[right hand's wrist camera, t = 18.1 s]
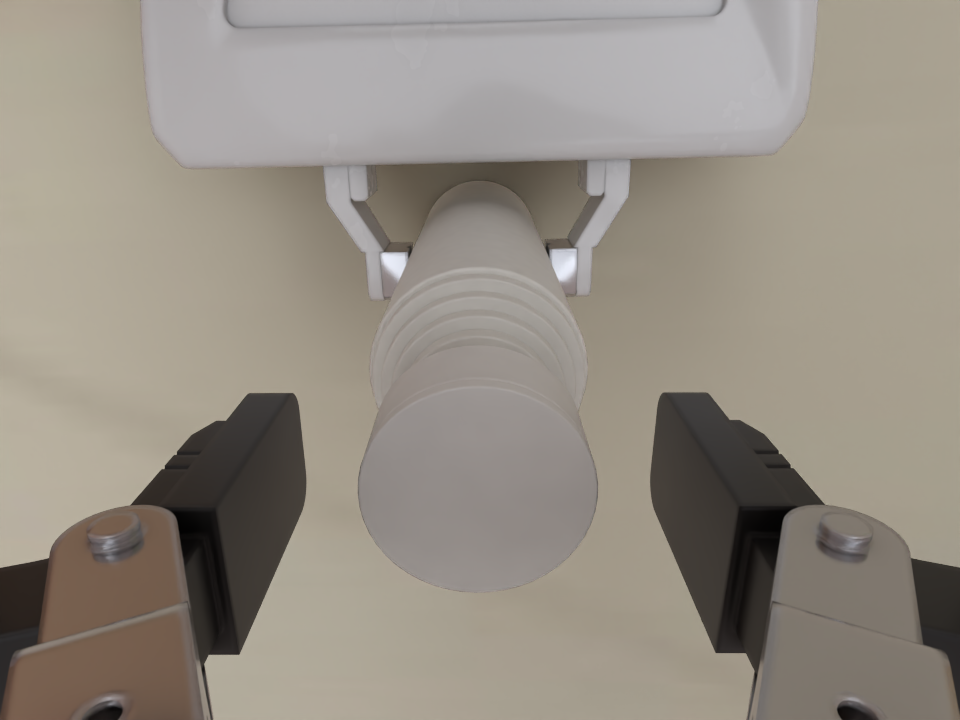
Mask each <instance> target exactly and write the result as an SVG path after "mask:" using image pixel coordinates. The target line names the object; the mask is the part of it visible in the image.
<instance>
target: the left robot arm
mask: <svg viewBox="0 0 960 720" xmlns="http://www.w3.org/2000/svg"><path fill="white" fill-rule="evenodd" d="M140 12H141V38H142V54H143V67H144V77H145V87H146V95H147V104H148V112H149V118H150V124H151V128H152V131H153V134H154V136H155V138H156V140H157V141H158V142H159V144H160V145H161V146H162V147H163V148H164V149H165V150H166V151H167V152H168V153H169V154H170V155H171V157H172V158H173V159H174V160H175V161H176V162H177V163H178V164H180V165H181V166H182V167H184V168H187V169H221V168H265V167H308V166H323V172H324V181H325V191H326V201H327V204H328V205H329V207H330V208H331V210H332V211H333V212H334V214H335V215H336V217H337V218H338V220H339V221H340V222H341V224H342V225H343V227H344V228H345V230H346V231H347V233H348V234H349V235H350V237H351V238H352V240H353V241H354V243H355V244H356V245H357V247H358V248H359V250H360V251H361V252H365V258H366V270H367V282H368V293H369V297H370V300H375V301H384V300H391V297H392V295H393V293H394V291H395V288H396V286H397V284H398V282H399V279H400V277H401V275H402V273H403V270H404V268H405V266H406V264H407V261H408V259H409V257H410V255H411V252H412V250H413V242H390V240H389V238H388V237H387V235H386V233H385V232H384V230H383V229H382V227H381V225H380V224H379V222H378V221H377V219H376V218H375V216H374V214H373V213H372V211H371V210H370V208H369V206H368V205H367V203H366V202H365V201H366V200H367V199H368V198H369V197H371V196H372V195H373V194H374V193H375V192H376V191H377V176H376V165H395V164H438V163H481V162H525V161H568V160H578V186H579V187H580V188H581V189H582V190H583V191H585V192H586V193H587V194H588V195H590V198H589V200H588V202H587V203H586V205H585V207H584V208H583V210H582V212H581V214H580V215H579V217H578V219H577V221H576V222H575V224H574V226H573V228H572V229H571V231H570V233H569V235H568V236H567V239H545V250H546V252H547V254H548V257H549V259H550V261H551V264H552V266H553V268H554V271H555V273H556V275H557V277H558V280H559V282H560V284H561V287H562V289H563V291H564V294H565V296H566V297H568V296H589V295H590V290H591V274H592V248H593V247H597V245H598V244H599V242H600V240H601V239H602V237H603V236H604V234H605V233H606V231H607V229H608V228H609V226H610V225H611V223H612V222H613V220H614V218H615V217H616V215H617V214H618V212H619V210H620V209H621V207H622V206H623V204H624V203H625V201H626V199H627V198H628V196H629V181H630V164H631V159H655V158H698V157H741V156H770V155H773V154H775V153H776V152H778V151H779V150H780V149H781V148H782V147H783V146H784V144H785V143H786V142H787V141H788V140H789V139H790V137H791V136H792V135H793V134H794V132H795V131H796V130H797V129H798V128H799V126H800V125H801V124H802V122H803V120H804V118H805V115H806V112H807V107H808V103H809V97H810V91H811V83H812V75H813V66H814V57H815V46H816V33H817V15H818V0H140Z"/></svg>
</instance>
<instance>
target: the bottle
mask: <svg viewBox="0 0 960 720" xmlns="http://www.w3.org/2000/svg"><path fill="white" fill-rule="evenodd" d="M472 345H485V346H496V347H500V348H505V349H510V350H513V351H515V352H518V353H521V354H524V355H526V356H528V357H530V358H532V359H534V360H536V361H537V362H539V363H540V364H542V365H543V366H545V367H546V368H547V369H548V370H550V371H551V372H552V373H553V374H554V375H555V376H556V377H557V378H558V379H559V380H560V381H561V382H562V384H563V385H564V386H565V387H566V389H567V390H568V392H569V393H570V395H571V397H572V398H573V401H574V403H575V405H576V407H577V410H579V408H580V405H581V401H582V398H583V395H584V392H585V388H586V382H587V374H588V361H587V352H586V347H585V343H584V339H583V336H582V334H581V331H580V329H579V326H578V324H577V322H576V319H575V317H574V315H573V312H572V310H571V308H570V305H569V303H568V301H567V298H566V296H565V294H564V291H563V289H562V287H561V284H560V282H559V280H558V277H557V275H556V273H555V271H554V268H553V266H552V264H551V261H550V259H549V257H548V254H547V252H546V250H545V247H544V245H543V243H542V240H541V238H540V236H539V233H538V231H537V229H536V226H535V224H534V222H533V219H532V217H531V215H530V212H529V210H528V209H527V207H526V205H525V204H524V202H523V201H522V200H521V199H520V198H519V197H518V196H517V195H516V194H515V193H514V192H512V191H511V190H510V189H508V188H506V187H504V186H502V185H500V184H497V183H494V182H490V181H470V182H465V183H462V184H459V185H457V186H455V187H453V188H451V189H449V190H448V191H446V192H445V193H444V194H443V195H442V196H441V197H440V198H439V199H438V200H437V201H436V202H435V204H434V205H433V207H432V208H431V210H430V212H429V214H428V217H427V219H426V221H425V223H424V226H423V228H422V230H421V232H420V234H419V237H418V239H417V241H416V243H415V246H414V248H413V250H412V252H411V255H410V257H409V259H408V261H407V264H406V266H405V268H404V270H403V273H402V275H401V277H400V279H399V282H398V284H397V286H396V288H395V291H394V293H393V295H392V297H391V300H390V302H389V304H388V306H387V309H386V311H385V313H384V315H383V318H382V320H381V322H380V324H379V327H378V329H377V331H376V334H375V337H374V340H373V343H372V348H371V354H370V368H369V370H370V381H371V386H372V390H373V394H374V397H375V401H376V404H377V407H378V409H379V408H380V405H381V403H382V401H383V399H384V397H385V395H386V394H387V392H388V391H389V389H390V388H391V387H392V385H393V384H394V383H395V381H396V380H397V379H398V378H399V377H400V376H401V375H402V374H403V373H404V372H405V371H407V370H408V369H409V368H410V367H412V366H413V365H414V364H416V363H418V362H419V361H421V360H423V359H424V358H426V357H428V356H431V355H433V354H435V353H437V352H440V351H444V350H447V349H450V348H455V347H461V346H472Z"/></svg>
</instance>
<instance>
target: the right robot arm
mask: <svg viewBox="0 0 960 720" xmlns="http://www.w3.org/2000/svg"><path fill="white" fill-rule="evenodd" d="M650 487H651V497H652V503H653V507H654V510H655V513H656V515H657V517H658V520H659V522H660V524H661V527H662V529H663V531H664V534H665V536H666V538H667V541H668V543H669V545H670V548H671V550H672V552H673V555H674V557H675V559H676V562H677V564H678V566H679V569H680V571H681V573H682V576H683V578H684V580H685V582H686V585H687V587H688V589H689V592H690V594H691V596H692V599H693V601H694V603H695V606H696V608H697V610H698V613H699V615H700V617H701V620H702V622H703V624H704V627H705V629H706V631H707V634H708V636H709V638H710V641H711V643H712V645H713V648H714V650H715V652H716V653H746V654H747V656H748V658H749V660H750V662H751V664H752V666H753V668H754V670H755V671H754V676H753V682H752V687H751V693H750V699H749V706H748V712H747V718H746V720H960V568H959V567H953V566H948V565H943V564H937V563H932V562H927V561H921V560H917V559H912V558H911V557H910V551H909V548H908V546H907V544H906V542H905V541H904V540H903V539H902V537H901V536H900V535H899V534H898V533H896V532H895V531H894V530H893V529H891V528H890V527H888V526H887V525H885V524H884V523H882V522H880V521H878V520H876V519H874V518H872V517H870V516H868V515H865V514H862V513H860V512H857V511H854V510H850V509H846V508H841V507H836V506H829V505H825V504H824V503H823V502H822V501H821V500H820V498H819V497H818V496H817V495H816V494H815V493H814V492H813V490H812V489H811V488H810V487H809V486H808V485H807V483H806V482H805V481H804V480H803V479H802V478H801V476H800V475H799V474H798V473H797V472H796V471H795V469H794V468H791V467H790V464H789V462H788V461H787V460H786V459H785V458H784V457H783V456H782V454H779V453H778V450H777V449H776V447H775V446H774V445H773V444H772V443H771V442H770V440H769V439H768V438H767V437H766V436H765V435H764V434H763V433H761V432H759V431H758V430H756V429H754V428H752V427H751V426H749V425H747V424H745V423H744V422H742V421H740V420H729V419H728V417H727V416H726V415H725V414H724V412H723V411H722V410H721V409H720V407H719V406H718V405H717V403H716V402H715V401H714V400H713V398H712V397H711V396H710V395H709V394H708V393H662V394H661V396H660V398H659V402H658V407H657V416H656V426H655V436H654V445H653V455H652V465H651V475H650ZM305 495H306V469H305V460H304V450H303V441H302V431H301V422H300V412H299V405H298V401H297V398H296V396H295V395H294V394H293V393H249V394H248V395H247V396H246V397H245V398H244V399H243V400H242V402H241V403H240V404H239V405H238V407H237V408H236V409H235V410H234V412H233V413H232V414H231V415H230V417H229V418H228V419H227V420H226V421H215V422H214V423H212V424H210V425H208V426H207V427H205V428H203V429H201V430H200V431H198V432H196V433H194V434H193V435H191V436H190V438H189V439H188V440H187V441H186V442H185V443H184V444H183V446H182V447H181V448H180V449H179V450H178V451H177V455H174V456H173V457H172V458H171V459H170V460H169V462H168V463H167V464H166V465H165V469H162V470H161V471H160V472H159V473H158V474H157V475H156V477H155V478H154V479H153V480H152V481H151V482H150V483H149V485H148V486H147V487H146V488H145V489H144V490H143V491H142V493H141V494H140V495H139V496H138V497H137V498H136V499H135V501H134V502H133V503H132V504H131V505H130V506H124V507H119V508H114V509H110V510H106V511H103V512H100V513H98V514H95V515H92V516H90V517H88V518H86V519H84V520H82V521H80V522H78V523H76V524H75V525H73V526H72V527H70V528H69V529H67V530H66V531H65V532H64V533H62V534H61V535H60V536H59V537H58V539H57V540H56V541H55V542H54V544H53V546H52V548H51V551H50V557H49V558H48V559H44V560H39V561H35V562H30V563H24V564H19V565H14V566H9V567H3V568H0V720H214V718H213V712H212V706H211V699H210V693H209V687H208V682H207V676H206V671H205V666H204V663H205V661H206V659H207V657H208V655H239V654H240V652H241V650H242V647H243V645H244V643H245V640H246V638H247V636H248V634H249V631H250V629H251V627H252V624H253V622H254V620H255V618H256V615H257V613H258V611H259V608H260V606H261V604H262V602H263V599H264V597H265V595H266V592H267V590H268V588H269V586H270V583H271V581H272V579H273V576H274V574H275V572H276V570H277V567H278V565H279V563H280V560H281V558H282V556H283V554H284V551H285V549H286V547H287V544H288V542H289V540H290V538H291V535H292V533H293V531H294V528H295V526H296V524H297V522H298V519H299V517H300V515H301V512H302V510H303V506H304V502H305Z"/></svg>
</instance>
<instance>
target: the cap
mask: <svg viewBox="0 0 960 720" xmlns="http://www.w3.org/2000/svg"><path fill="white" fill-rule="evenodd" d="M597 498H598V481H597V473H596V468H595V465H594V461H593V458H592V455H591V451H590V448H589V445H588V442H587V439H586V435H585V432H584V429H583V426H582V423H581V419H580V416H579V413H578V410H577V407H576V405H575V403H574V401H573V398H572V397H571V395H570V393H569V392H568V390H567V389H566V387H565V386H564V385H563V384H562V382H561V381H560V380H559V379H558V378H557V377H556V376H555V375H554V374H553V373H552V372H551V371H550V370H548V369H547V368H546V367H545V366H543V365H542V364H540V363H539V362H537V361H536V360H534V359H532V358H530V357H528V356H526V355H524V354H521V353H518V352H515V351H513V350H510V349H505V348H500V347H496V346H485V345H472V346H461V347H455V348H450V349H447V350H444V351H440V352H437V353H435V354H433V355H431V356H428V357H426V358H424V359H423V360H421V361H419V362H418V363H416V364H414V365H413V366H412V367H410V368H409V369H408V370H407V371H405V372H404V373H403V374H402V375H401V376H400V377H399V378H398V379H397V380H396V381H395V383H394V384H393V385H392V387H391V388H390V389H389V391H388V392H387V394H386V395H385V397H384V399H383V401H382V403H381V405H380V408H379V411H378V414H377V417H376V420H375V423H374V426H373V429H372V433H371V436H370V439H369V442H368V445H367V448H366V451H365V454H364V457H363V460H362V463H361V466H360V472H359V478H358V499H359V506H360V510H361V513H362V517H363V520H364V522H365V525H366V527H367V529H368V531H369V533H370V535H371V536H372V538H373V540H374V541H375V543H376V544H377V546H378V547H379V548H380V549H381V550H382V552H383V553H384V554H385V555H386V556H387V557H388V558H389V559H390V560H391V561H392V562H394V563H395V564H396V565H397V566H399V567H400V568H401V569H403V570H404V571H406V572H407V573H409V574H410V575H412V576H414V577H416V578H418V579H420V580H422V581H424V582H427V583H429V584H432V585H435V586H438V587H441V588H445V589H449V590H455V591H461V592H474V593H479V592H494V591H501V590H507V589H511V588H515V587H519V586H521V585H524V584H527V583H529V582H532V581H534V580H536V579H538V578H540V577H542V576H544V575H546V574H547V573H549V572H550V571H552V570H553V569H555V568H556V567H558V566H559V565H560V564H561V563H562V562H563V561H565V560H566V559H567V558H568V557H569V556H570V555H571V554H572V553H573V551H574V550H575V549H576V548H577V547H578V545H579V544H580V542H581V541H582V540H583V538H584V537H585V535H586V533H587V531H588V529H589V527H590V525H591V522H592V519H593V516H594V513H595V510H596V504H597Z"/></svg>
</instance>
